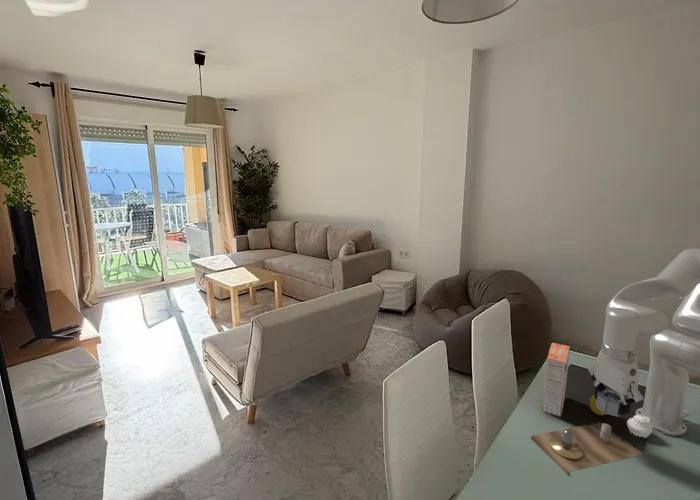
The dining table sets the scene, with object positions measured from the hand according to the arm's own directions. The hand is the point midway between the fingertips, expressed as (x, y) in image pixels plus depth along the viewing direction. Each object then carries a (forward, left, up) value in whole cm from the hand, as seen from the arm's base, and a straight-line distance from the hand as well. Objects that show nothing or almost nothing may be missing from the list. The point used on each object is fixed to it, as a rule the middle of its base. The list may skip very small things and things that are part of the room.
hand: (610, 405), depth 104 cm
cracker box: (+1, -19, -13) cm, 23 cm away
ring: (0, 0, -1) cm, 1 cm away
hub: (+15, 0, -13) cm, 19 cm away
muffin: (-12, 0, -13) cm, 18 cm away
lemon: (-9, -11, -13) cm, 19 cm away
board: (+8, 0, -13) cm, 15 cm away
